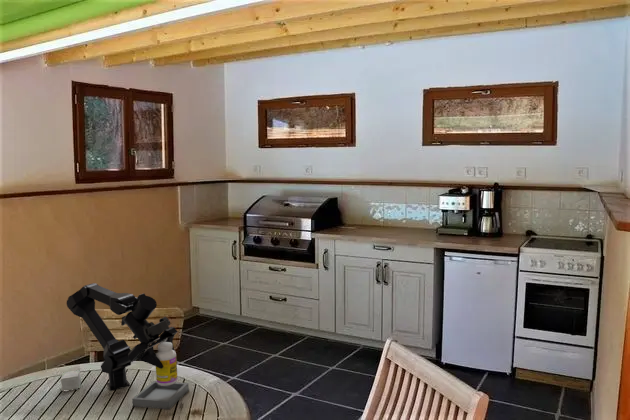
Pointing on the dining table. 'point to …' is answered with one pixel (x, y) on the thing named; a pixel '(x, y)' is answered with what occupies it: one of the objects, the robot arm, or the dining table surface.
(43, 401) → the dining table surface
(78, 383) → the small box
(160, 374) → the supplement bottle
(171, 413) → the dining table surface
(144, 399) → the tray
